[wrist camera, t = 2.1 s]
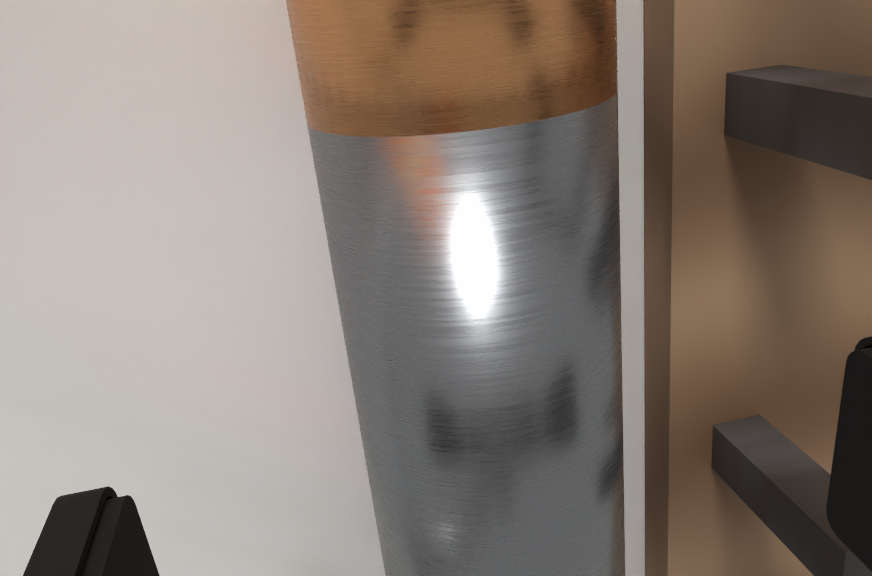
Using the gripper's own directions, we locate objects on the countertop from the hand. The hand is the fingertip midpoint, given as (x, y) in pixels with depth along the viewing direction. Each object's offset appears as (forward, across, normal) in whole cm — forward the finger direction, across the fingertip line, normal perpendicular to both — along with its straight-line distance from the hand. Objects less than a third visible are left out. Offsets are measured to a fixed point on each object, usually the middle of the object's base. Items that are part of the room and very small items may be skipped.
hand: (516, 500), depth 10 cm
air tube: (+7, +1, +1) cm, 7 cm away
